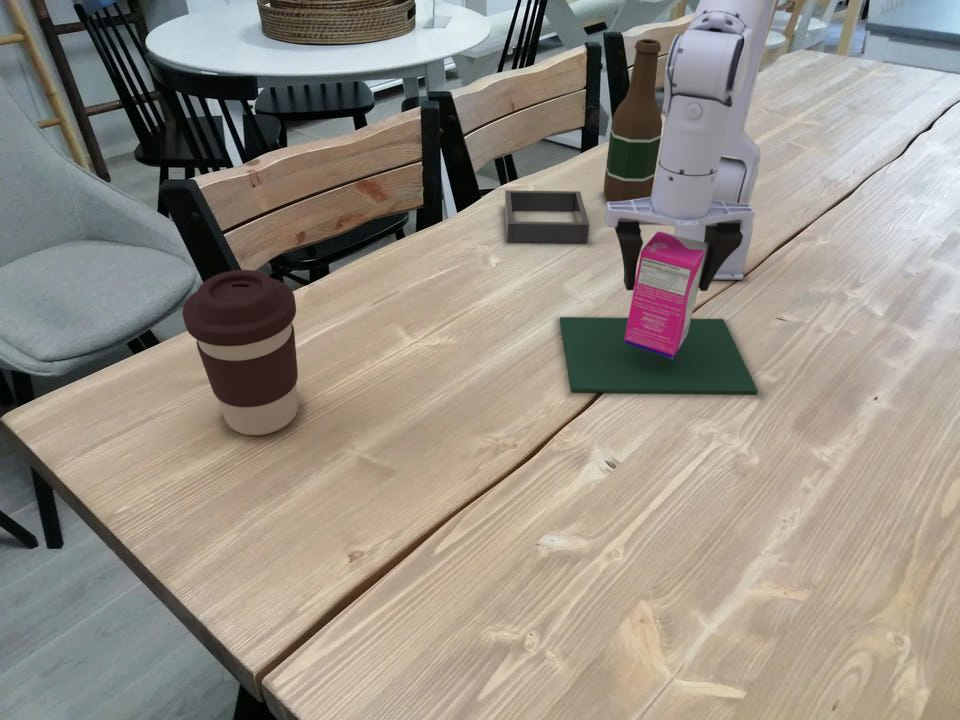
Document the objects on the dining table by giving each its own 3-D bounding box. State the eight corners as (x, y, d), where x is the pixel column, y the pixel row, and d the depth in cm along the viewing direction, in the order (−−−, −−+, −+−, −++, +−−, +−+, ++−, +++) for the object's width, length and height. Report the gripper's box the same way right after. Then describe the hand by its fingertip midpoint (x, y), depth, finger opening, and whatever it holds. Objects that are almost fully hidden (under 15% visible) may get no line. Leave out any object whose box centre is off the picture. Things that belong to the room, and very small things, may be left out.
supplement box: (637, 320, 85) (658, 228, 78) (687, 336, 83) (713, 243, 76) (620, 343, 81) (640, 247, 74) (672, 360, 78) (698, 264, 72)
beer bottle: (596, 203, 118) (615, 44, 103) (608, 185, 123) (628, 32, 109) (645, 212, 115) (671, 50, 101) (654, 193, 121) (681, 38, 107)
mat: (722, 322, 91) (723, 318, 90) (757, 394, 79) (758, 390, 79) (559, 320, 90) (559, 316, 90) (571, 392, 79) (571, 388, 79)
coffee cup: (262, 460, 70) (233, 330, 61) (190, 423, 74) (153, 295, 65) (331, 404, 77) (314, 279, 68) (262, 372, 81) (238, 250, 72)
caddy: (578, 209, 116) (580, 191, 114) (587, 243, 107) (589, 224, 105) (504, 208, 116) (505, 190, 114) (506, 242, 107) (507, 223, 105)
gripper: (619, 180, 68) (602, 305, 76) (776, 182, 68) (742, 306, 76) (608, 151, 74) (594, 270, 82) (753, 153, 74) (724, 272, 82)
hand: (665, 286), depth 79 cm, fingers closed on supplement box, 7 cm apart
